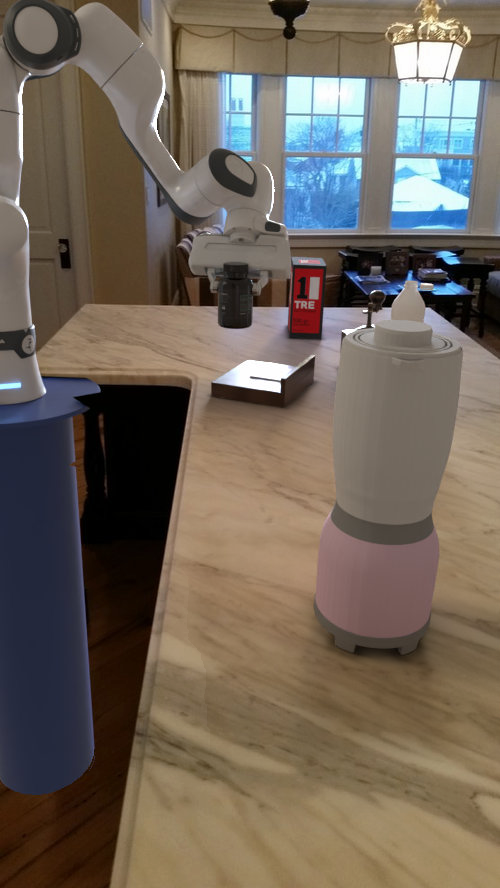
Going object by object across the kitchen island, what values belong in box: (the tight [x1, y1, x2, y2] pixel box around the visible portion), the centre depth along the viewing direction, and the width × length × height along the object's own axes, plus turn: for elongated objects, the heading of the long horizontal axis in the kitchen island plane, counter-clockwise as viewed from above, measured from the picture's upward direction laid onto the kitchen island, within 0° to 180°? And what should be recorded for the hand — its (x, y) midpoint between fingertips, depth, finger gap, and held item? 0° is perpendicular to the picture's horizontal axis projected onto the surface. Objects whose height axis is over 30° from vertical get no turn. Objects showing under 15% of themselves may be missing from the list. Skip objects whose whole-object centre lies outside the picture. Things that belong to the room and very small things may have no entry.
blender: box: [313, 319, 464, 656], centre depth 71 cm, size 16×12×32 cm
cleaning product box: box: [287, 256, 327, 340], centre depth 199 cm, size 16×9×20 cm, turn 179°
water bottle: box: [389, 279, 435, 323], centre depth 139 cm, size 9×6×25 cm
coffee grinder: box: [339, 289, 387, 355], centre depth 163 cm, size 16×11×18 cm
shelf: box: [210, 354, 316, 408], centre depth 150 cm, size 16×20×6 cm
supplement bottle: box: [217, 262, 254, 330], centre depth 137 cm, size 7×7×12 cm
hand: (235, 292), depth 136 cm, fingers closed on supplement bottle, 7 cm apart
